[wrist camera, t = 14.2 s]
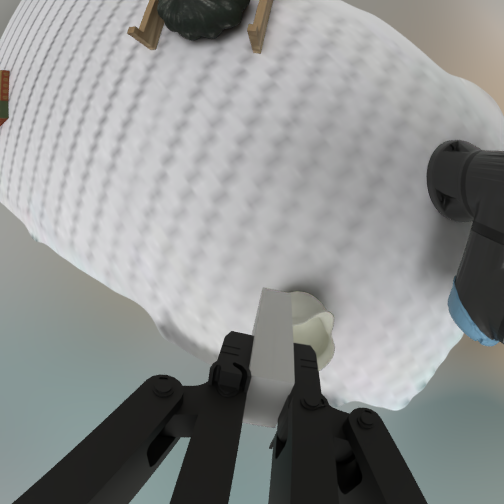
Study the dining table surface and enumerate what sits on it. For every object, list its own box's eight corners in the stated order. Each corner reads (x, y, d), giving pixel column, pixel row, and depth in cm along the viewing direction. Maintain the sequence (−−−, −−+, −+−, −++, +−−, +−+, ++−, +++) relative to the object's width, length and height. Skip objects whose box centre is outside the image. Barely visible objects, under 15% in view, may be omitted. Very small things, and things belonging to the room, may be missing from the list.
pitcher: (247, 335, 54) (237, 383, 41) (290, 259, 48) (293, 296, 35) (296, 355, 54) (297, 404, 41) (343, 284, 48) (362, 326, 35)
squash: (221, -43, 26) (154, -46, 18) (281, -6, 29) (221, -9, 21) (188, 9, 38) (127, 21, 30) (238, 47, 41) (179, 64, 33)
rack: (276, -12, 32) (274, -39, 23) (260, 53, 37) (255, 31, 29) (172, -13, 33) (155, -35, 24) (150, 49, 38) (127, 33, 29)
